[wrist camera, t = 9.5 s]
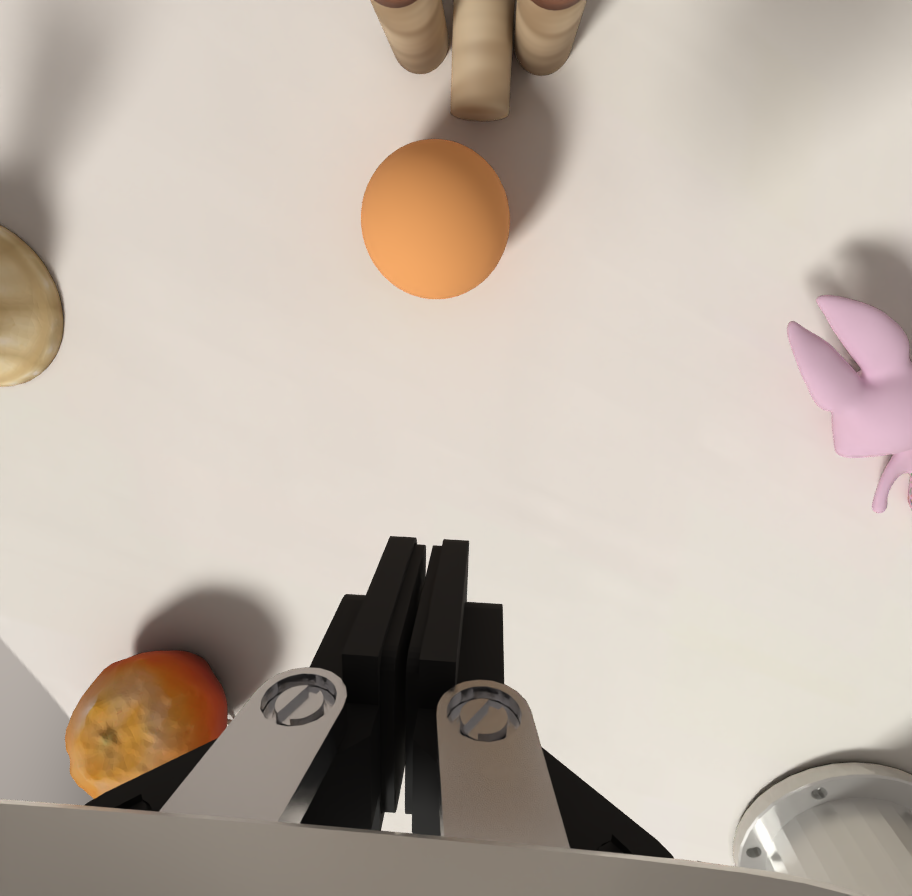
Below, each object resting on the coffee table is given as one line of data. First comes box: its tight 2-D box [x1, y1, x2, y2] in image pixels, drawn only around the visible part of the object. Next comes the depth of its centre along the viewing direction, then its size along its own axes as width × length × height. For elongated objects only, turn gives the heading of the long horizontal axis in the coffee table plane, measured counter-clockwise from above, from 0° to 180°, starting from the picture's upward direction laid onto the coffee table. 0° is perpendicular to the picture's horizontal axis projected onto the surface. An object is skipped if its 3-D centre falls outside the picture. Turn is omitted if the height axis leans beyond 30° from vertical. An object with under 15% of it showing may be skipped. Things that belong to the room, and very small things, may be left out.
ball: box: [361, 139, 510, 299], centre depth 23 cm, size 6×6×6 cm
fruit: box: [65, 650, 232, 799], centre depth 32 cm, size 8×8×8 cm
